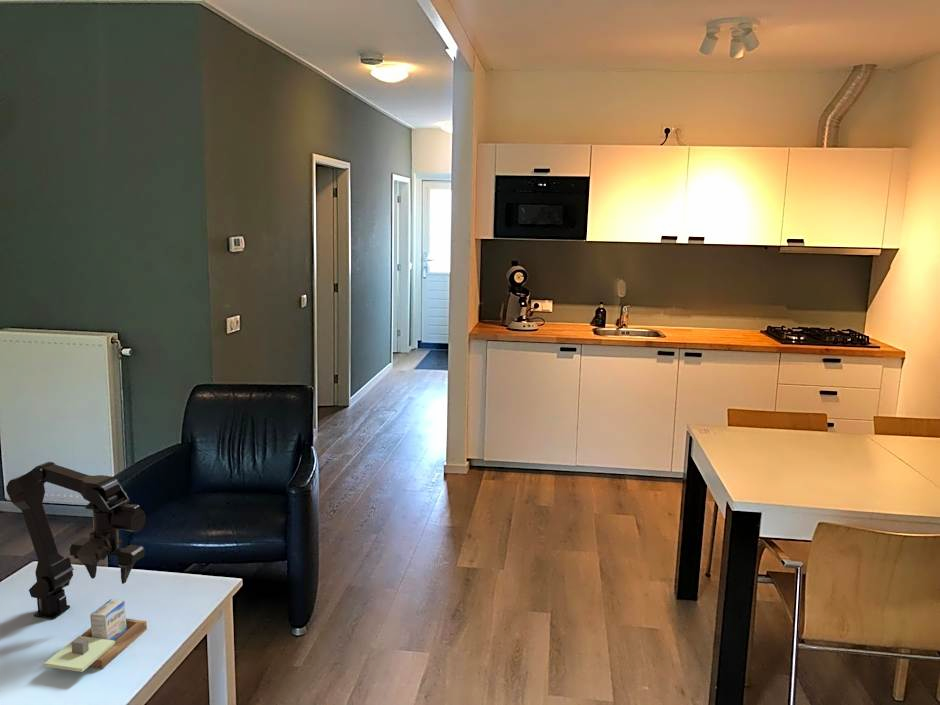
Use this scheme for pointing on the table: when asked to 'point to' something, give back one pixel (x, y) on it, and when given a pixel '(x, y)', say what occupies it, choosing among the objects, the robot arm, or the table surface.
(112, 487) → the robot arm
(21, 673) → the table surface
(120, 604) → the medicine box
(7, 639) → the table surface
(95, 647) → the cover
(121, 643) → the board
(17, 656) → the table surface
